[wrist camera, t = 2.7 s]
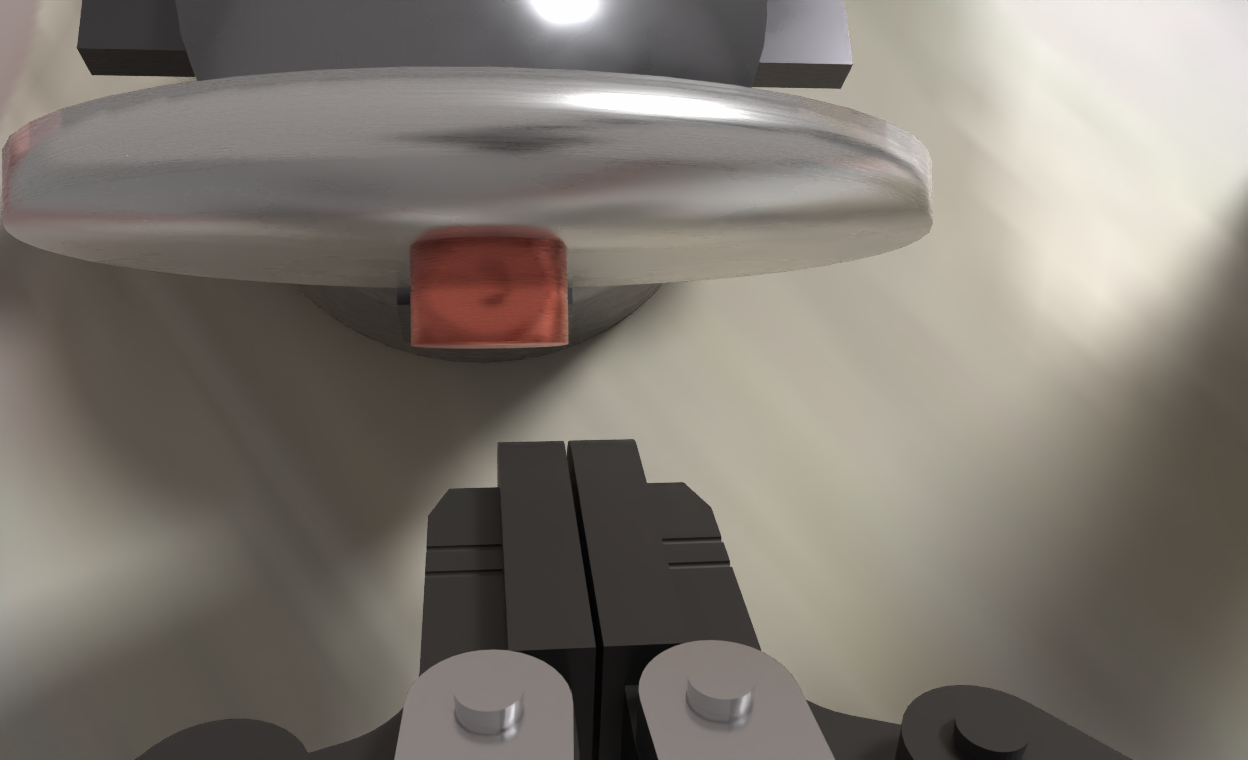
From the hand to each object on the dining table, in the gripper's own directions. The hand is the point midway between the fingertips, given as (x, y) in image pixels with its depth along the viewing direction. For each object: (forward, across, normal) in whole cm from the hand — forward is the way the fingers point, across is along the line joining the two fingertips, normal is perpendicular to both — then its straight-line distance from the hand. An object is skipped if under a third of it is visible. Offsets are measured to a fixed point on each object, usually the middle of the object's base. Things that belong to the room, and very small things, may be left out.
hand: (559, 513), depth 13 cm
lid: (+12, +1, 0) cm, 12 cm away
